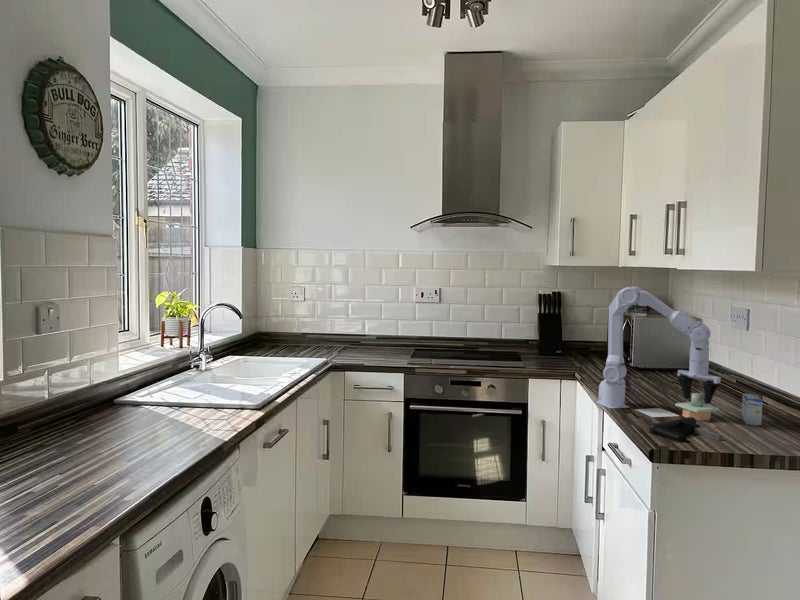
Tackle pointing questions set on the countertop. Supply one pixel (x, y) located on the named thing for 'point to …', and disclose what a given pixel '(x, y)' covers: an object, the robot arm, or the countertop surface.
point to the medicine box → (751, 409)
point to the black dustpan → (681, 429)
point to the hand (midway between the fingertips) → (697, 400)
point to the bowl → (697, 414)
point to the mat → (656, 412)
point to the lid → (697, 404)
